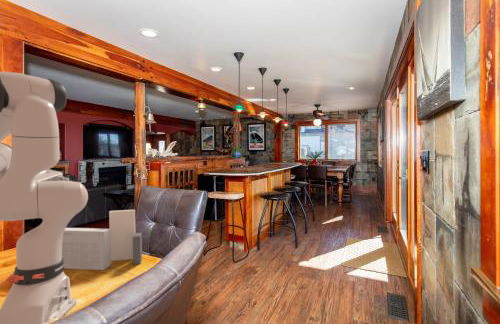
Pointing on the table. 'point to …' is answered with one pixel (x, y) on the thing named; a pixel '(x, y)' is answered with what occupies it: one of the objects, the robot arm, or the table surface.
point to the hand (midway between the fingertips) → (61, 183)
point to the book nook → (124, 236)
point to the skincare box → (86, 248)
